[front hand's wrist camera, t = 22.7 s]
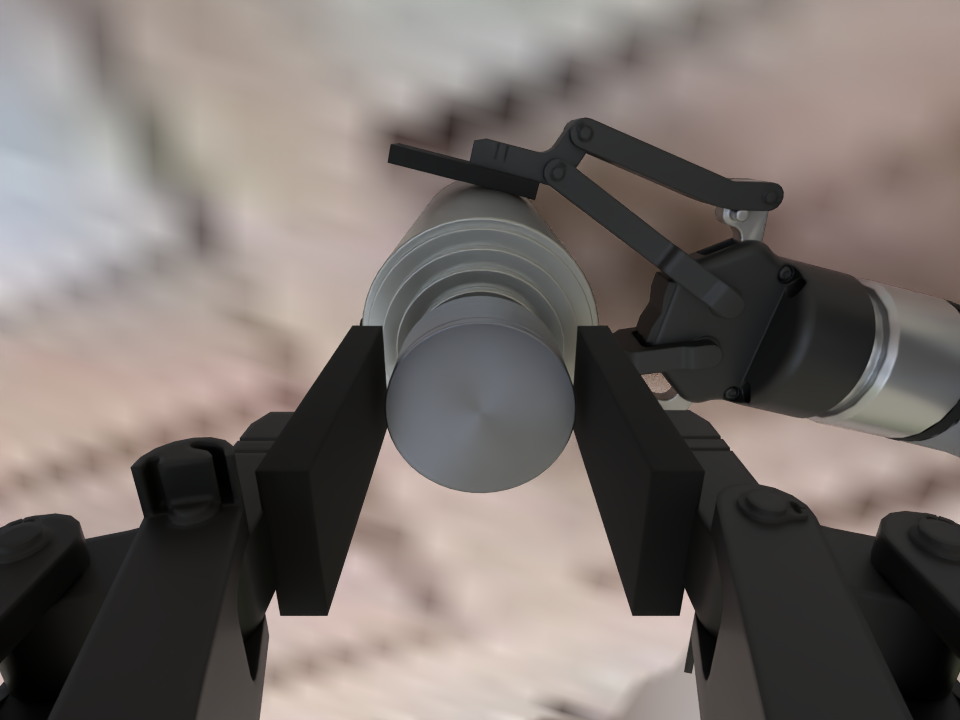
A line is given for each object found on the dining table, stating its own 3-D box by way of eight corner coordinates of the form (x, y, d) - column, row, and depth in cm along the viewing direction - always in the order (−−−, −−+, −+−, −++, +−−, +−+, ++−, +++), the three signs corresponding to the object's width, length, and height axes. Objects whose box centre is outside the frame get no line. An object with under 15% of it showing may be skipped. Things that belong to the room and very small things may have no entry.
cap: (372, 324, 14) (354, 355, 12) (537, 272, 13) (548, 296, 11) (430, 464, 15) (422, 512, 13) (580, 422, 15) (596, 466, 13)
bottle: (402, 278, 33) (294, 480, 14) (440, 157, 31) (371, 194, 11) (516, 317, 34) (563, 557, 15) (561, 202, 32) (691, 309, 12)
